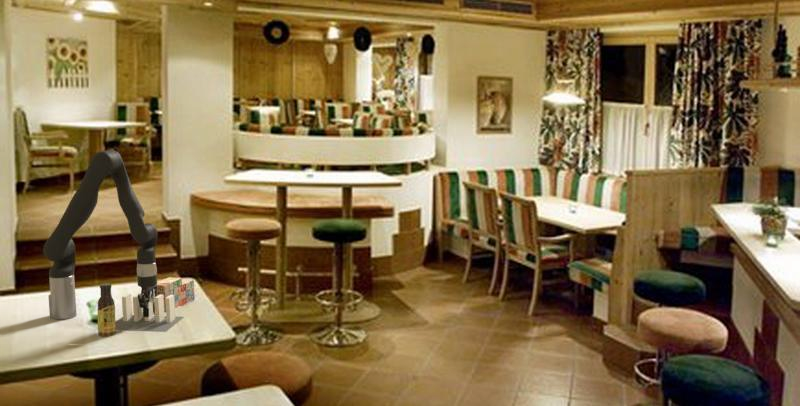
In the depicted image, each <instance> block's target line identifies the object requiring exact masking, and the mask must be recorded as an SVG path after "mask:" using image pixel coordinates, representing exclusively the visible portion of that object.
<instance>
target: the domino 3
mask: <svg viewBox="0 0 800 406" xmlns="http://www.w3.org/2000/svg"><path fill="white" fill-rule="evenodd" d="M152 297H153V296H152ZM145 299H146V300H148V298H145ZM146 304H147V302H146ZM154 316H155V312H154V313H153V300H152V298H151V301H150V302H149V317H145V321H150V320H151V319H152V318H154Z"/></svg>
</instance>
